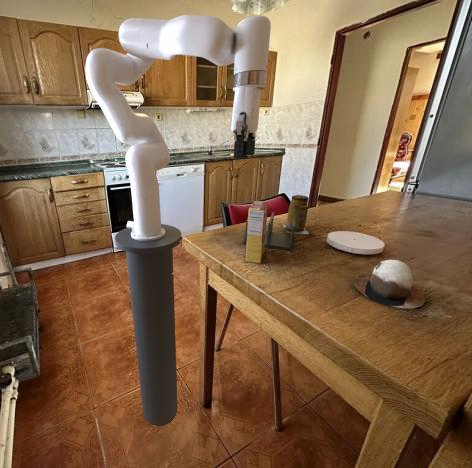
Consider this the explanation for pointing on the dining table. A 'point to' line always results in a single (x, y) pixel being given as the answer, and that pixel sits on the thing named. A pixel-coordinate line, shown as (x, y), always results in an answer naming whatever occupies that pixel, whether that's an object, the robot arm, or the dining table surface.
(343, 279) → the dining table surface
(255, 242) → the candy box
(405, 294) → the bowler hat
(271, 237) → the rack
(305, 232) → the condiment
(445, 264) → the dining table surface
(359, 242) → the plastic lid
